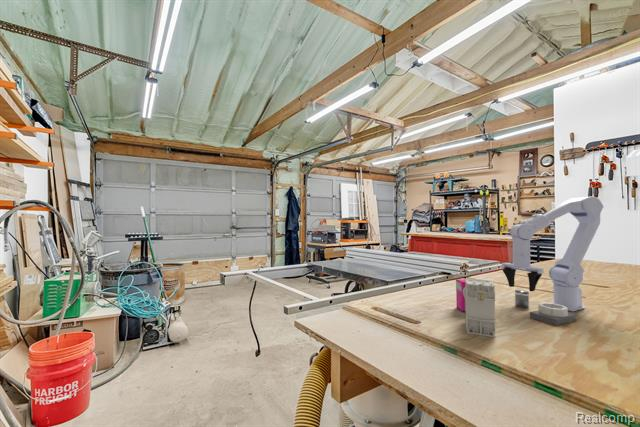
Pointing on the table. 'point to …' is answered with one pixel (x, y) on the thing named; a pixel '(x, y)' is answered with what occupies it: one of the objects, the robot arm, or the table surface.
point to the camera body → (552, 314)
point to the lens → (521, 298)
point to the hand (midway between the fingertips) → (521, 288)
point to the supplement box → (460, 294)
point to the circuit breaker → (480, 307)
